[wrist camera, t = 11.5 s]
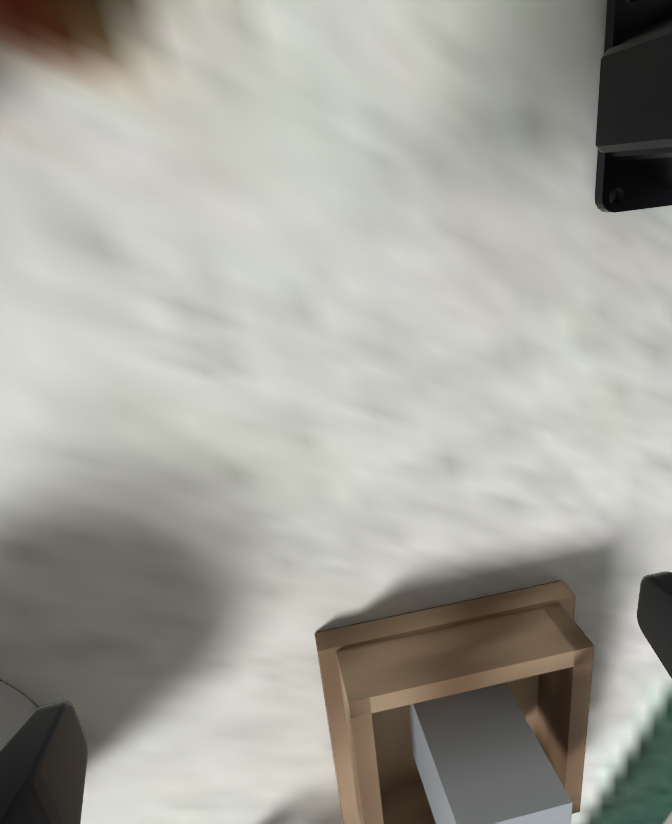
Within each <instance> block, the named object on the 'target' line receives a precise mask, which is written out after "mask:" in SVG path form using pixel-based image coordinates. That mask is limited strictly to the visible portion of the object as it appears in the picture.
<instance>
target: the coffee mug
mask: <svg viewBox="0 0 672 824" xmlns="http://www.w3.org/2000/svg"><path fill="white" fill-rule="evenodd" d="M37 708H38V707H37V706H36V705H35V704H34V703H33V702H32V701H30V700H29V699H28V698H27V697H26V696H24V695H23V694H22V693H20V692H19V691H17V690H16V689H14V688H12V687H11V686H9V685H7V684H6V683H4V682H2V681H0V750H1V749H2V748H3V747H4V746H5V744H6V743H7V742H8V741H9V740H10V739H11V737H12V736H13V735H14V734H15V733H16V732H17V731H18V729H19V728H20V727H21V726H22V725H23V724H24V723H25V721H26V720H27V719H28V718H29V717H30V716H31V715H32V713H33V712H34V711H35V710H36V709H37Z"/></svg>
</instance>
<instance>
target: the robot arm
mask: <svg viewBox="0 0 672 824" xmlns="http://www.w3.org/2000/svg"><path fill="white" fill-rule="evenodd" d="M596 146H597V148H598V156H597V172H596V188H595V203H596V205H597V207H598V209H600V210H601V211H604V212H622V211H630V210H637V209H645V208H653V207H661V206H669V205H672V0H630V3H629V4H627V3H626V2H625V0H607V15H606V31H605V47H604V56H603V57H602V59H601V67H600V83H599V99H598V116H597V132H596ZM613 189H614V190H615V192H616V197H615V200H614V201H613V202H612V203H611V202H610V201H609V195H610V192H611V191H612V190H613ZM637 619H638V623H639V626H640V629H641V630H642V632H643V634H644V635H645V637H646V639H647V640H648V642H649V643H650V645H651V647H652V648H653V650H654V651H655V653H656V654H657V656H658V658H659V659H660V661H661V662H662V664H663V665H664V667H665V669H666V670H667V672H668V673H669V675H670V677H671V678H672V572H660V573H655V574H650V575H647V576H645V577H644V578H643V579H642V581H641V585H640V593H639V601H638V609H637ZM87 755H88V750H87V742H86V738H85V735H84V732H83V730H82V727H81V725H80V722H79V719H78V717H77V714H76V711H75V709H74V707H73V705H72V703H71V702H69V701H61V702H56V703H51V704H47V705H43V706H40V707H39V708H37V709H36V710H35V711H34V712H33V713H32V715H31V716H30V717H29V718H28V719H27V720H26V721H25V723H24V724H23V725H22V726H21V727H20V728H19V729H18V731H17V732H16V733H15V734H14V735H13V736H12V737H11V739H10V740H9V741H8V742H7V743H6V744H5V746H4V747H3V748H2V749H1V750H0V824H80V821H81V812H82V803H83V794H84V784H85V775H86V766H87Z"/></svg>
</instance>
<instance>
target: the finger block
mask: <svg viewBox="0 0 672 824" xmlns="http://www.w3.org/2000/svg"><path fill="white" fill-rule="evenodd" d="M409 717H410V729H411V741H412V753H413V756H414V759H415V762H416V765H417V768H418V771H419V774H420V777H421V780H422V783H423V786H424V789H425V792H426V795H427V798H428V801H429V804H430V807H431V810H432V813H433V816H434V820H435V823H436V824H571V817H572V803H573V802H572V801H571V799H570V797H569V795H568V794H567V792H566V790H565V788H564V786H563V785H562V783H561V781H560V779H559V778H558V776H557V774H556V772H555V770H554V769H553V767H552V765H551V763H550V762H549V760H548V758H547V756H546V754H545V753H544V751H543V749H542V747H541V746H540V744H539V742H538V740H537V738H536V737H535V735H534V733H533V731H532V730H531V728H530V726H529V724H528V722H527V721H526V719H525V717H524V715H523V714H522V712H521V710H520V708H519V706H518V705H517V703H516V701H515V699H514V698H513V696H512V694H511V692H510V690H509V689H508V687H507V685H506V683H501V684H496V685H492V686H488V687H484V688H479V689H475V690H471V691H466V692H462V693H458V694H453V695H449V696H445V697H440V698H436V699H432V700H428V701H423V702H419V703H415V704H410V705H409Z"/></svg>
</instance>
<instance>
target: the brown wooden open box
mask: <svg viewBox="0 0 672 824" xmlns="http://www.w3.org/2000/svg"><path fill="white" fill-rule="evenodd" d="M574 605H575V595H574V594H573V593H572V591H571V590H570V589H569V588H568V587H567V585H566V584H565V583H564V582H563V581H559V582H554V583H549V584H545V585H540V586H535V587H530V588H526V589H521V590H516V591H512V592H507V593H502V594H497V595H493V596H488V597H483V598H479V599H474V600H469V601H464V602H460V603H455V604H450V605H445V606H441V607H436V608H431V609H427V610H422V611H417V612H412V613H408V614H403V615H398V616H394V617H389V618H384V619H379V620H375V621H370V622H365V623H360V624H356V625H351V626H346V627H342V628H337V629H332V630H327V631H323V632H318V633H315V638H316V645H317V652H318V658H319V665H320V671H321V678H322V685H323V691H324V698H325V705H326V711H327V718H328V724H329V731H330V738H331V744H332V751H333V758H334V764H335V771H336V777H337V784H338V791H339V797H340V804H341V811H342V817H343V824H436V823H435V820H434V816H433V813H432V810H431V807H430V804H429V801H428V798H427V795H426V792H425V789H424V786H423V783H422V780H421V777H420V774H419V771H418V768H417V765H416V762H415V759H414V756H413V753H412V741H411V729H410V717H409V705H410V704H415V703H419V702H423V701H428V700H432V699H436V698H440V697H445V696H449V695H453V694H458V693H462V692H466V691H471V690H475V689H479V688H484V687H488V686H492V685H496V684H501V683H506V685H507V687H508V689H509V690H510V692H511V694H512V696H513V698H514V699H515V701H516V703H517V705H518V706H519V708H520V710H521V712H522V714H523V715H524V717H525V719H526V721H527V722H528V724H529V726H530V728H531V730H532V731H533V733H534V735H535V737H536V738H537V740H538V742H539V744H540V746H541V747H542V749H543V751H544V753H545V754H546V756H547V758H548V760H549V762H550V763H551V765H552V767H553V769H554V770H555V772H556V774H557V776H558V778H559V779H560V781H561V783H562V785H563V786H564V788H565V790H566V792H567V794H568V795H569V797H570V799H571V801H572V802H573V803H572V814H573V813H576V812H580V803H581V792H582V780H583V769H584V758H585V746H586V735H587V724H588V712H589V701H590V690H591V678H592V667H593V655H594V645H593V644H592V643H591V641H590V640H589V639H588V638H587V636H586V635H585V634H584V633H583V632H582V630H581V629H580V628H579V627H578V625H577V624H576V623H575V622H574Z"/></svg>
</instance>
